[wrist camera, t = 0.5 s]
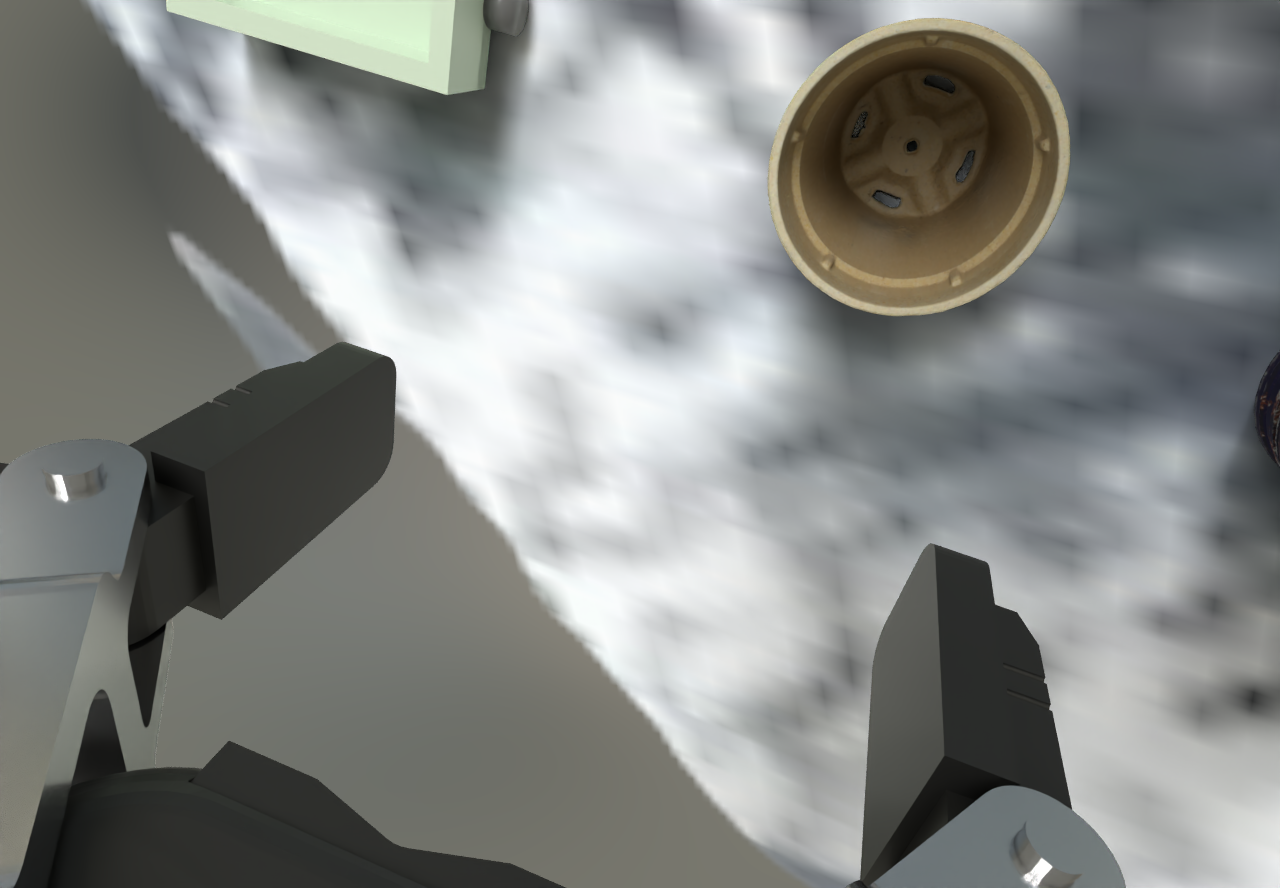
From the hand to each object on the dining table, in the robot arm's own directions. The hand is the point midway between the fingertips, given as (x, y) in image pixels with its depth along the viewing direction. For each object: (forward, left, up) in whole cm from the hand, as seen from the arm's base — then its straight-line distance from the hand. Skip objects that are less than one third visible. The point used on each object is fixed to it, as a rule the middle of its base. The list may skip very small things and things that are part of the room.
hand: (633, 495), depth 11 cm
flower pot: (-2, +3, -28) cm, 28 cm away
